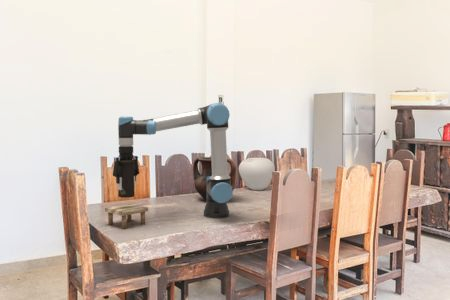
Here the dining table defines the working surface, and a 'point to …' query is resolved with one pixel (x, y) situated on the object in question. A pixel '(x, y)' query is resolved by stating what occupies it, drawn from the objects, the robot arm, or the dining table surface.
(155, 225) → the dining table surface
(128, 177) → the container
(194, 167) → the jug
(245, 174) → the vase
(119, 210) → the footstool
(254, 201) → the dining table surface
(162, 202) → the dining table surface
